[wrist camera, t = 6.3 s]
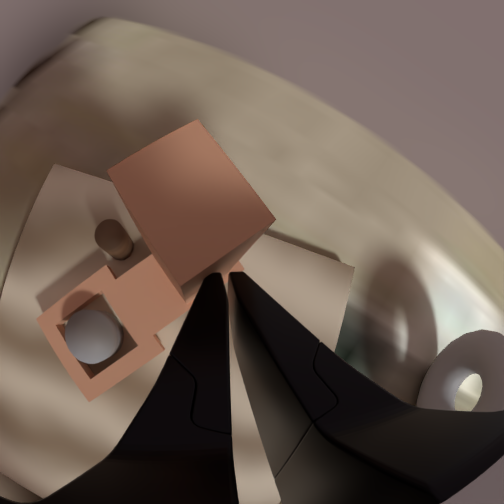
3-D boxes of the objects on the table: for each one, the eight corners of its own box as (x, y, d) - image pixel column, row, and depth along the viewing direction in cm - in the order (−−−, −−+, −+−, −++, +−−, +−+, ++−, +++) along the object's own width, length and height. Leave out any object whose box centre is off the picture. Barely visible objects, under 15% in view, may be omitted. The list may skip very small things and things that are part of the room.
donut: (430, 325, 22) (528, 319, 12) (452, 336, 22) (543, 333, 12) (389, 437, 19) (478, 476, 9) (415, 441, 19) (499, 473, 10)
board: (249, 547, 15) (261, 578, 11) (-9, 455, 12) (-34, 473, 8) (346, 270, 21) (379, 259, 17) (59, 170, 18) (38, 141, 14)
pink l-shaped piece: (94, 398, 14) (-9, 486, 3) (43, 318, 15) (-97, 310, 4) (252, 285, 18) (352, 235, 7) (196, 209, 18) (213, 68, 7)
